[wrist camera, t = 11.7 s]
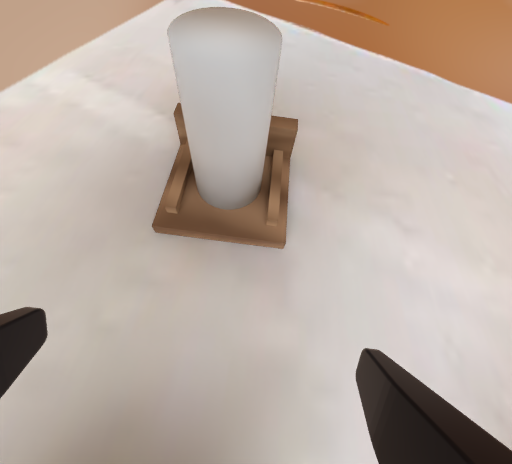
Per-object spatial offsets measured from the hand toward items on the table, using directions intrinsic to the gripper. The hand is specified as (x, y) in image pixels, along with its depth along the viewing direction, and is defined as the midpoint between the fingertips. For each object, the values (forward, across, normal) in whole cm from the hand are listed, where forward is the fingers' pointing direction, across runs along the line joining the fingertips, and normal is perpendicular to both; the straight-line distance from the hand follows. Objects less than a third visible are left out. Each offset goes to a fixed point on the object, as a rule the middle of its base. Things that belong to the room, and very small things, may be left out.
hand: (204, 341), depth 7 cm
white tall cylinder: (+20, +2, -2) cm, 20 cm away
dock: (+21, +2, -2) cm, 21 cm away
